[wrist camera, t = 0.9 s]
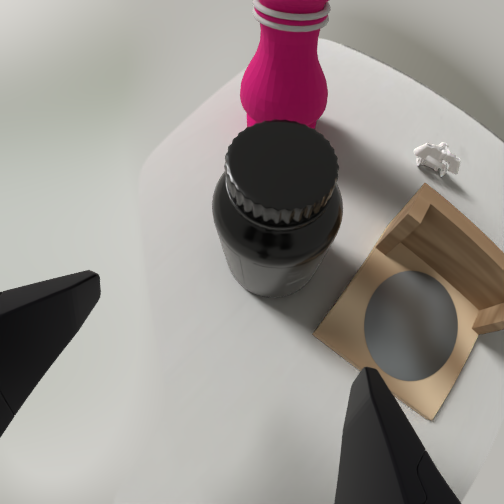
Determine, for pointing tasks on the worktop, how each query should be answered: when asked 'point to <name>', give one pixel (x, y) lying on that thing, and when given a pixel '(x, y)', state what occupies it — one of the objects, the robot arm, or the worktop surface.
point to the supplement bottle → (277, 206)
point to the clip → (437, 158)
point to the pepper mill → (286, 63)
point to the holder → (420, 302)
